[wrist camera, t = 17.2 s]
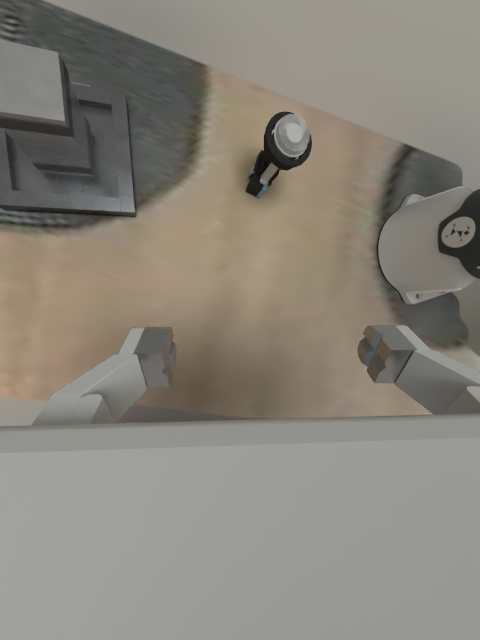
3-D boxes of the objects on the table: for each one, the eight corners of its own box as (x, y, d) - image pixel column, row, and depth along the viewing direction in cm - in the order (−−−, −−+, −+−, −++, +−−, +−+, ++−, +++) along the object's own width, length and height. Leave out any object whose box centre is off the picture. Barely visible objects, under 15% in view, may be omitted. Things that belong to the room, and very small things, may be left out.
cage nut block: (91, 129, 28) (59, 51, 19) (96, 178, 28) (66, 122, 19) (36, 122, 26) (-27, 32, 17) (41, 173, 26) (-17, 110, 18)
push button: (248, 143, 34) (282, 80, 24) (282, 162, 35) (326, 109, 26) (235, 189, 33) (264, 144, 24) (269, 206, 35) (309, 169, 26)
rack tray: (127, 101, 29) (125, 91, 27) (136, 216, 30) (134, 212, 29) (-12, 76, 25) (-23, 62, 24) (4, 209, 26) (-5, 204, 25)
